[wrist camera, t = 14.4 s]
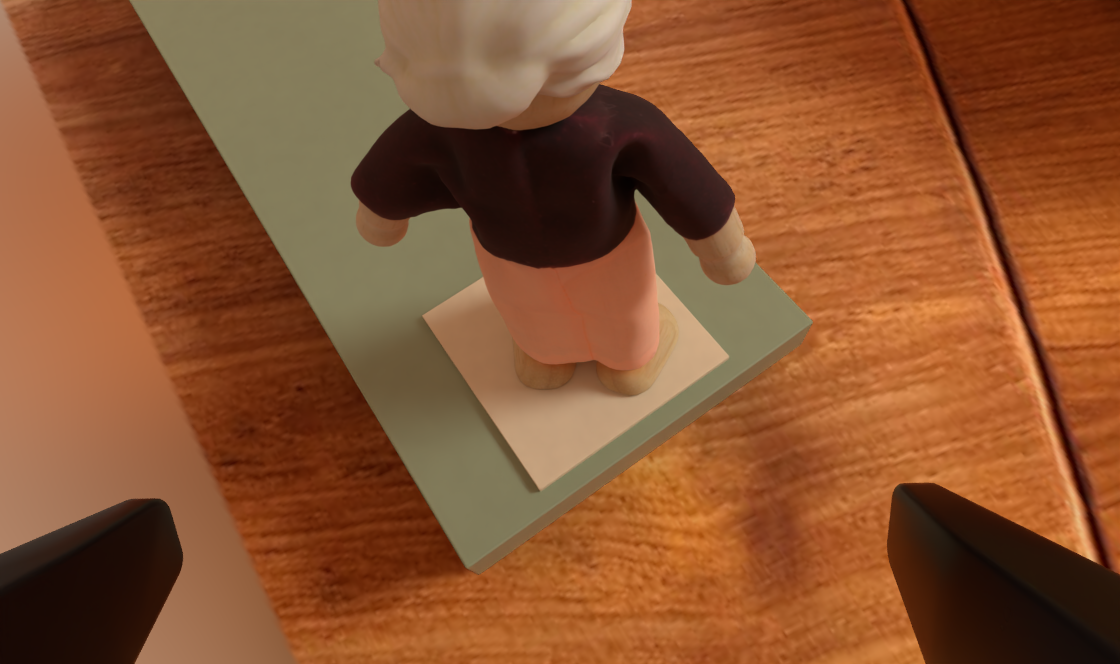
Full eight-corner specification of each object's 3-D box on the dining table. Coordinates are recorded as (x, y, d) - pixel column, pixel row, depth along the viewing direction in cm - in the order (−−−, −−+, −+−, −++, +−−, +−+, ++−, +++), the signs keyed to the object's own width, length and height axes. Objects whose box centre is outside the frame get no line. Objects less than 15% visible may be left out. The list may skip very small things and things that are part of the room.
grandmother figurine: (706, 267, 20) (811, -286, 8) (726, 398, 18) (893, -60, 6) (433, 290, 20) (165, -200, 9) (428, 420, 18) (91, 29, 7)
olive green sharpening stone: (784, 375, 22) (816, 318, 19) (495, 584, 21) (464, 568, 17) (341, -111, 35) (306, -204, 31) (136, -7, 33) (73, -93, 29)
